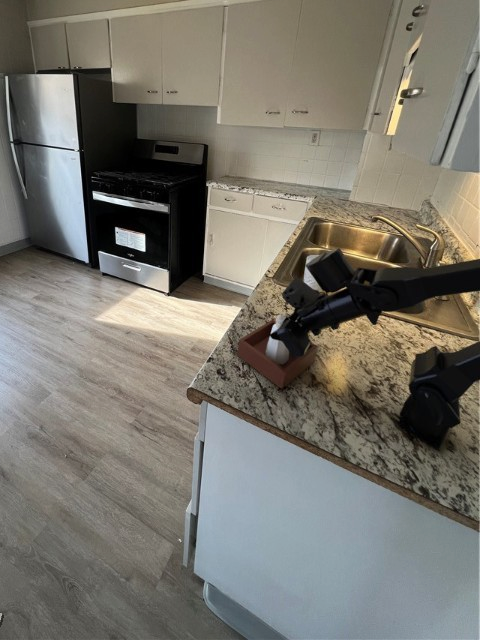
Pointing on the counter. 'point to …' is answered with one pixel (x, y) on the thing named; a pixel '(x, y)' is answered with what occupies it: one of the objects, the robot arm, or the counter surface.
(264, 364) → the bin
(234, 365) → the counter surface
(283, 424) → the counter surface
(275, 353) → the salt shaker
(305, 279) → the white cup
